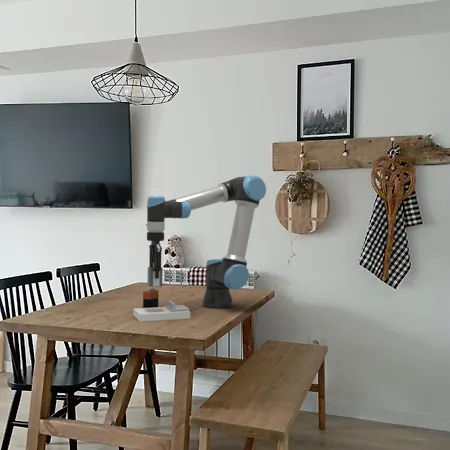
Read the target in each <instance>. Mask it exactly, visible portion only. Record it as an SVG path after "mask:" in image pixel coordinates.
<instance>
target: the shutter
mask: <svg viewBox="0 0 450 450" xmlns="http://www.w3.org/2000/svg"><path fill="white" fill-rule="evenodd" d="M165 307H166V308H168V309H169V310H171V311H183V310H188V311H190V308H189V307H188V306H185V305H184V304H176V302H174V301H172V300H170V299H168V300H167V305H165Z"/></svg>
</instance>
